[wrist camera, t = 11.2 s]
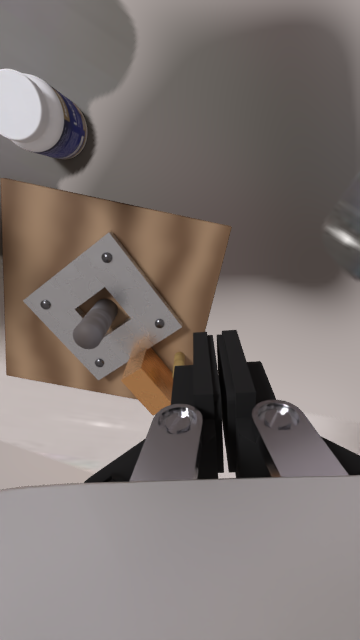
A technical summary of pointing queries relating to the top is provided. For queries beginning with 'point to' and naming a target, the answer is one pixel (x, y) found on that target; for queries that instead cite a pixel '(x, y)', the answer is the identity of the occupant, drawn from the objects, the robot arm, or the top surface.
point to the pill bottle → (39, 116)
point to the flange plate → (125, 339)
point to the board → (102, 309)
